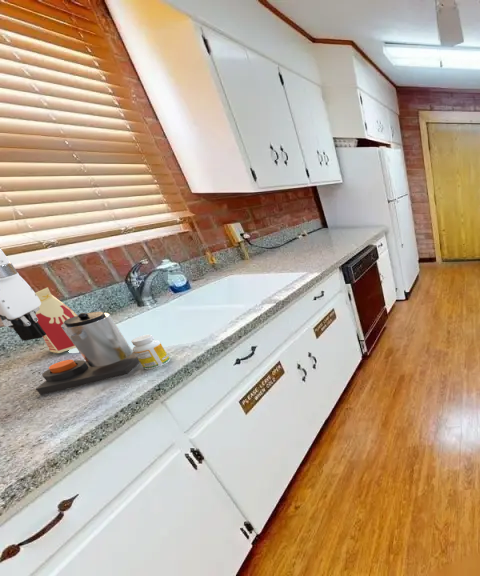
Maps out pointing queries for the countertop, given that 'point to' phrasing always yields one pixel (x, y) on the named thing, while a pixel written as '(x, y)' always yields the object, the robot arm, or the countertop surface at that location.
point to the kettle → (97, 338)
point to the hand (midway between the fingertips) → (34, 337)
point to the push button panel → (85, 374)
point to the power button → (62, 366)
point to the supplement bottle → (149, 352)
